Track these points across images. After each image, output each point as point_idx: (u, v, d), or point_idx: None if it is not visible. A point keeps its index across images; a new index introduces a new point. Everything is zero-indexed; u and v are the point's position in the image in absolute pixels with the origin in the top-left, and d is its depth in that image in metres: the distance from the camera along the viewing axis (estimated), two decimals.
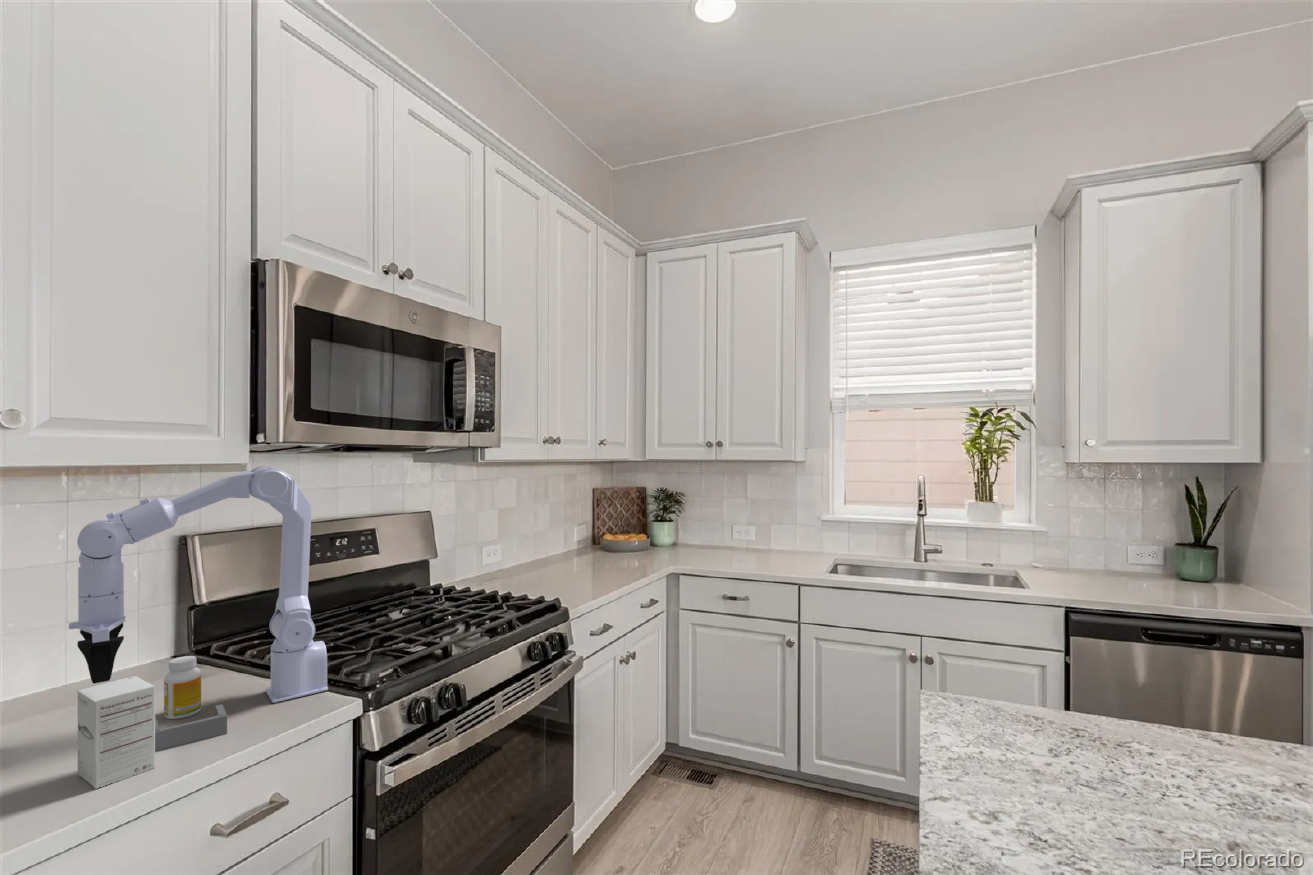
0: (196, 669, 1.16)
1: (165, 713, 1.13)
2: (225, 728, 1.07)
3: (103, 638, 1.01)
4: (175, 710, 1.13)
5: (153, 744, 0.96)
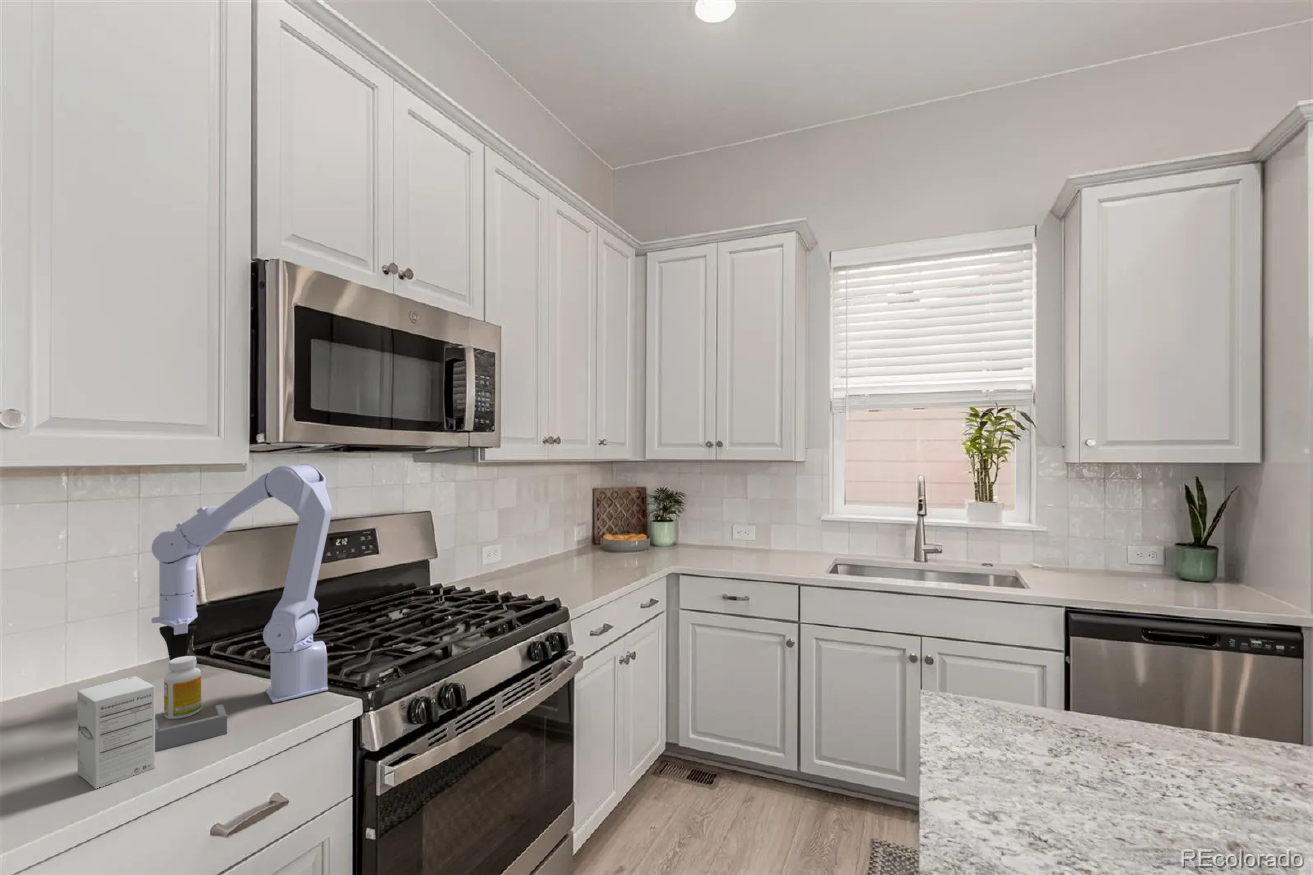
0: (196, 669, 1.16)
1: (165, 713, 1.13)
2: (225, 728, 1.07)
3: (183, 631, 1.18)
4: (175, 710, 1.13)
5: (153, 744, 0.96)
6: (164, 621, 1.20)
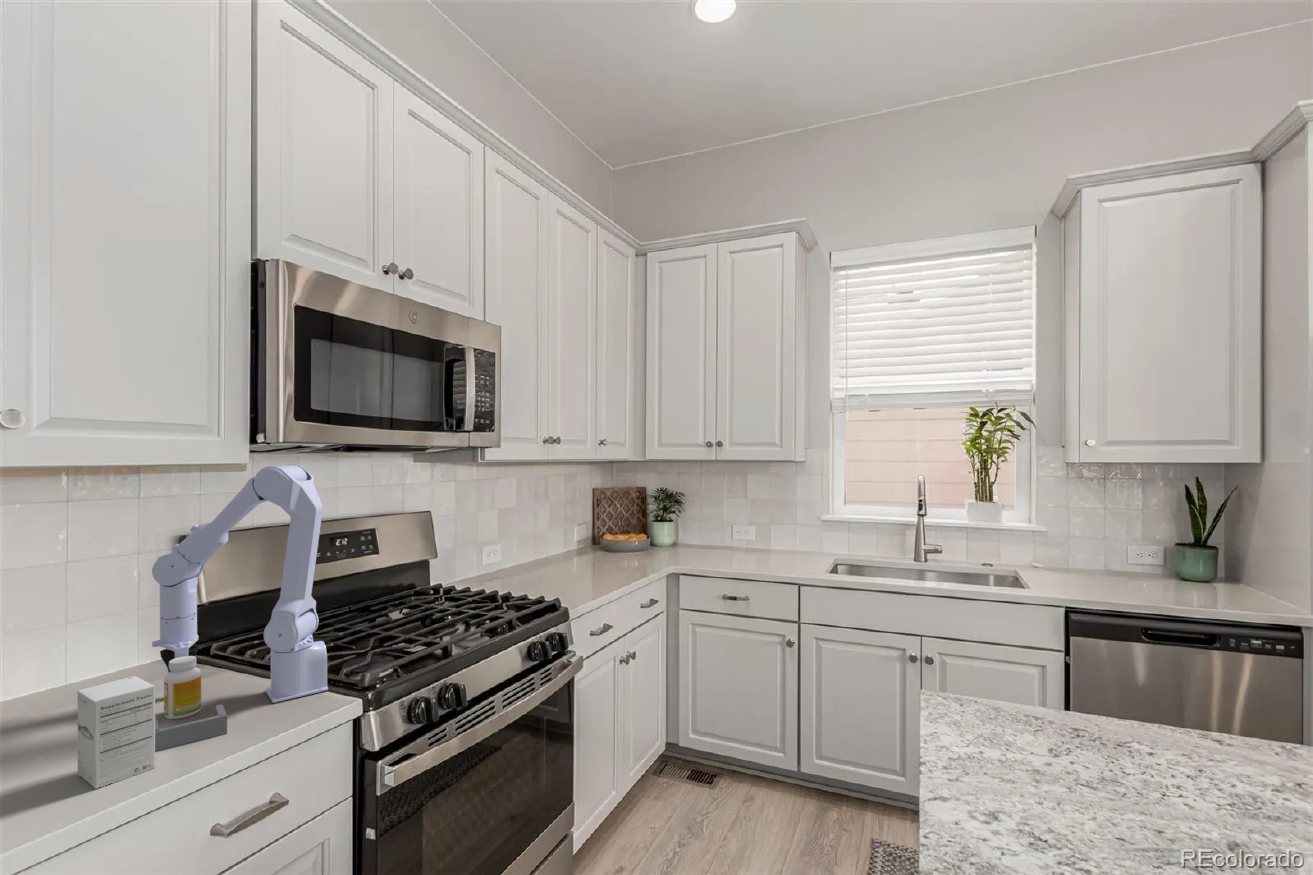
0: (196, 669, 1.16)
1: (165, 713, 1.13)
2: (225, 728, 1.07)
3: (183, 655, 1.17)
4: (175, 710, 1.13)
5: (153, 744, 0.96)
6: (165, 645, 1.19)
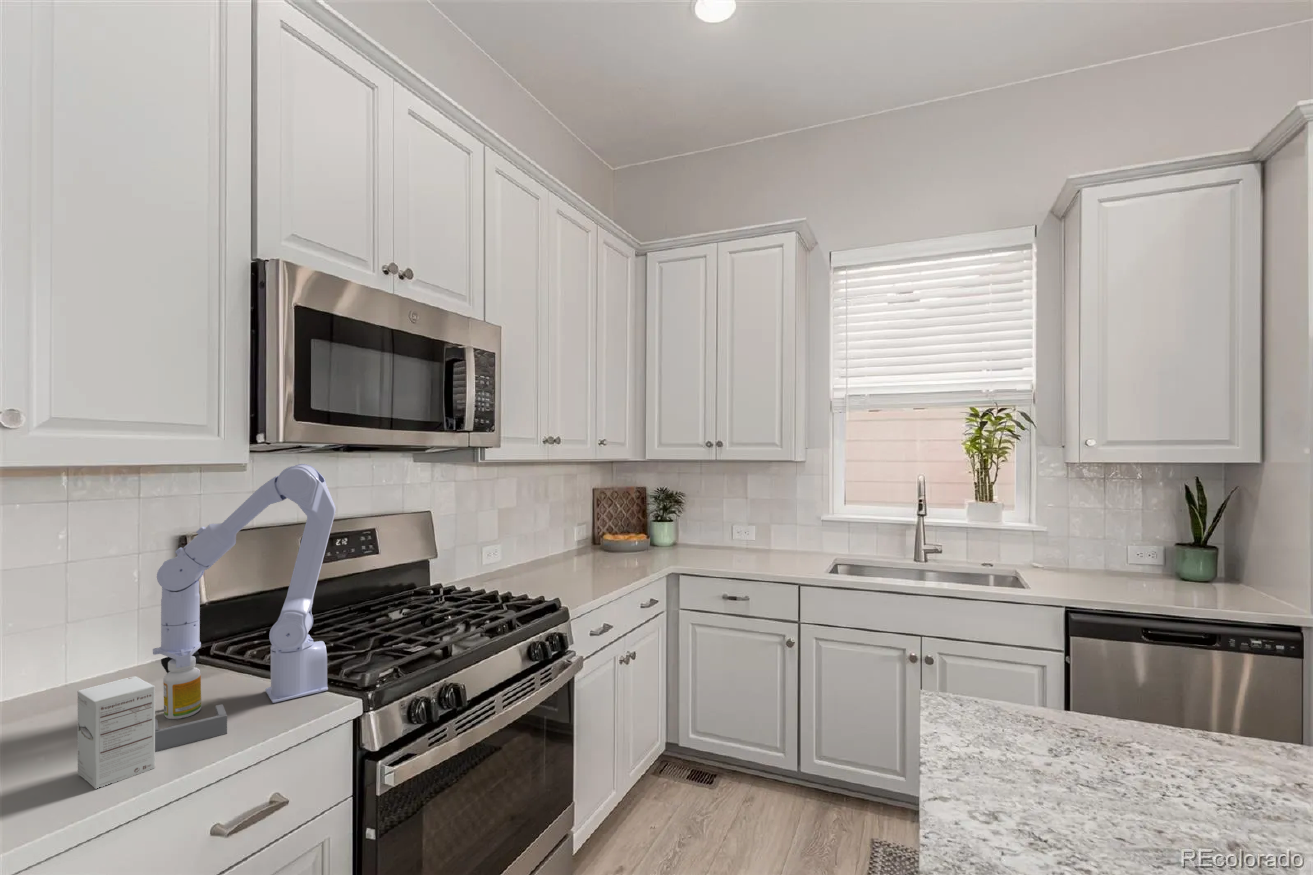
0: (195, 669, 1.16)
1: (165, 713, 1.13)
2: (225, 728, 1.07)
3: (185, 663, 1.13)
4: (175, 710, 1.12)
5: (153, 744, 0.96)
6: (166, 652, 1.14)
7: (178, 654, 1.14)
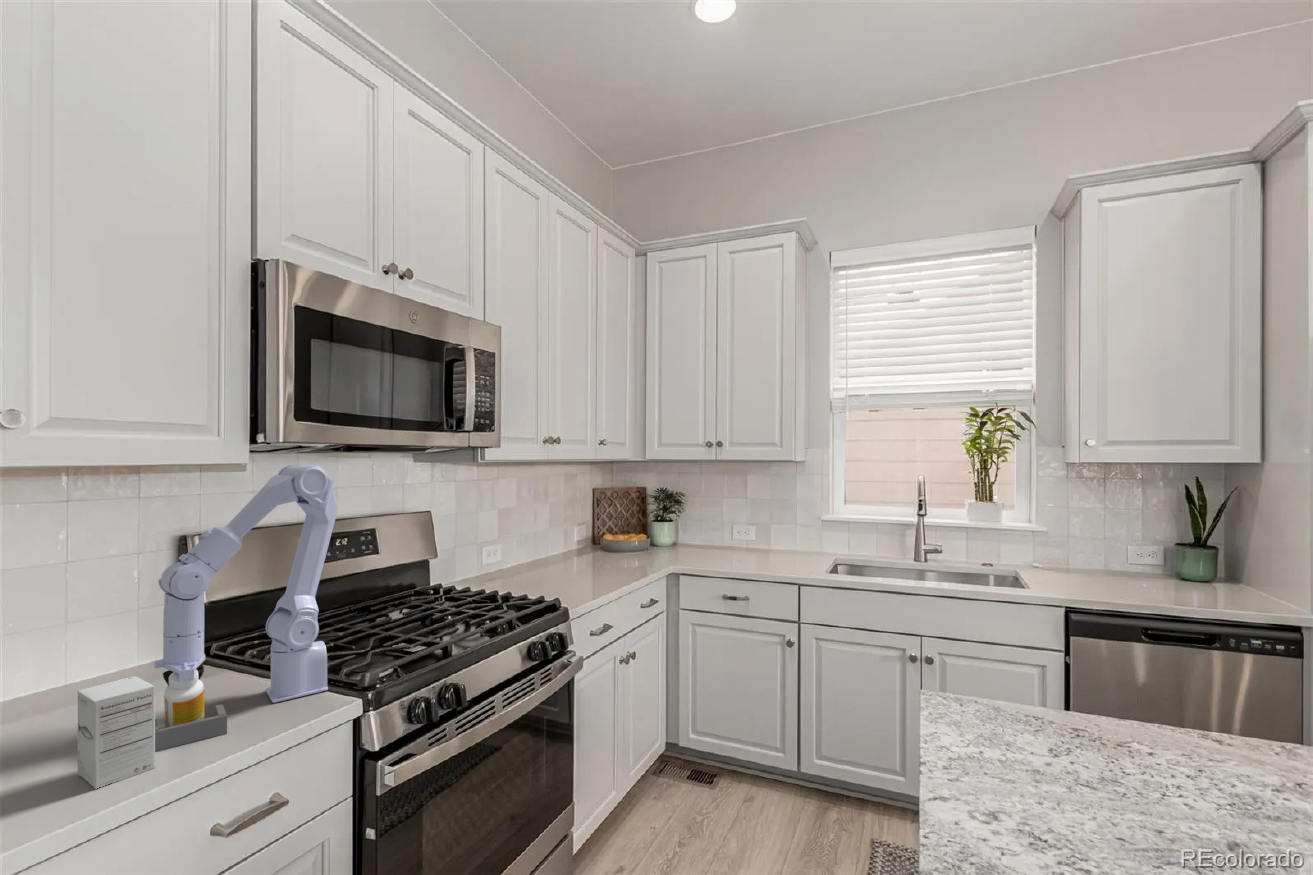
0: (198, 684, 1.08)
1: (166, 726, 1.07)
2: (225, 728, 1.07)
3: (189, 678, 1.06)
4: None
5: (153, 744, 0.96)
6: (168, 666, 1.07)
7: (181, 668, 1.07)
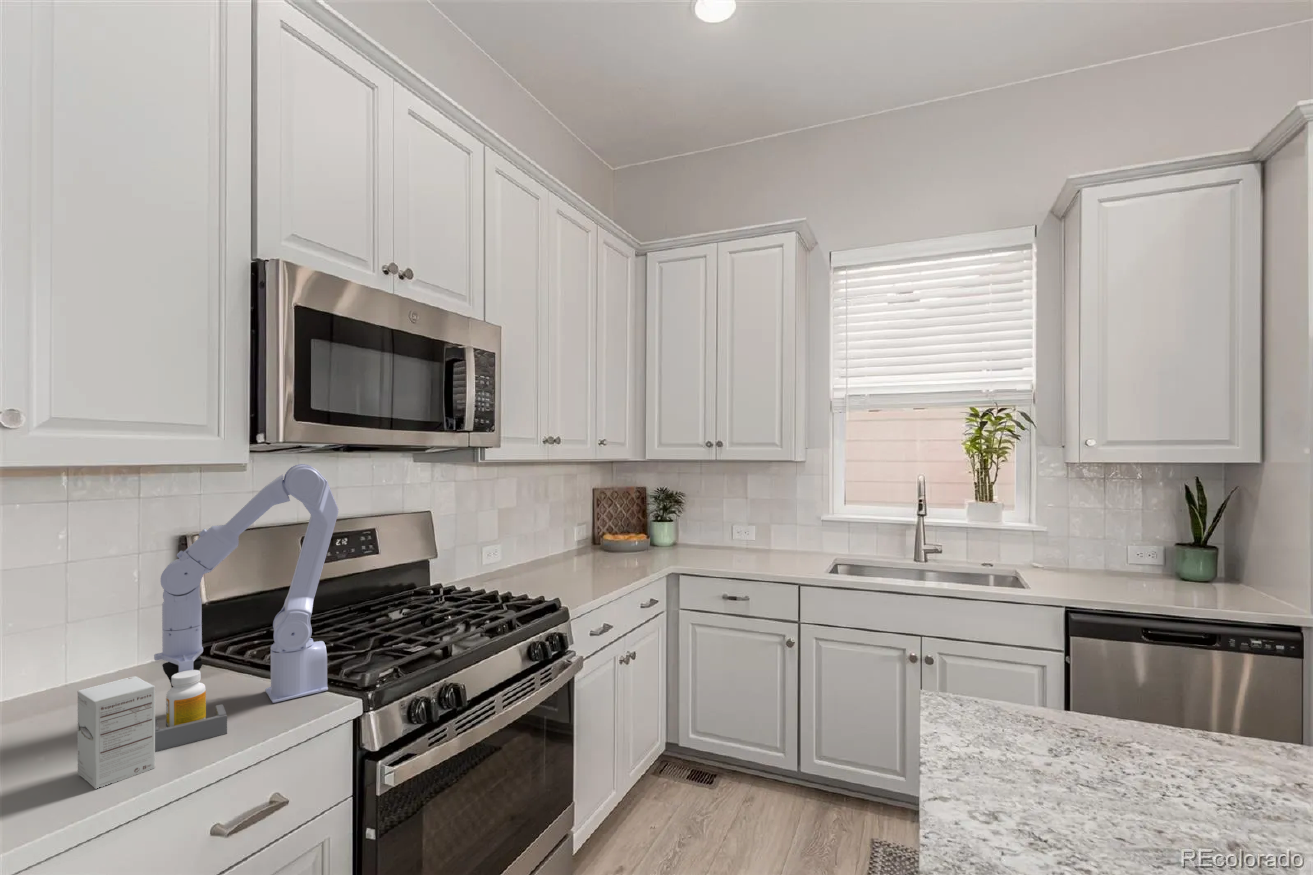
0: (200, 684, 1.09)
1: None
2: (225, 728, 1.07)
3: (188, 669, 1.10)
4: None
5: (153, 744, 0.96)
6: (168, 658, 1.12)
7: (180, 659, 1.12)
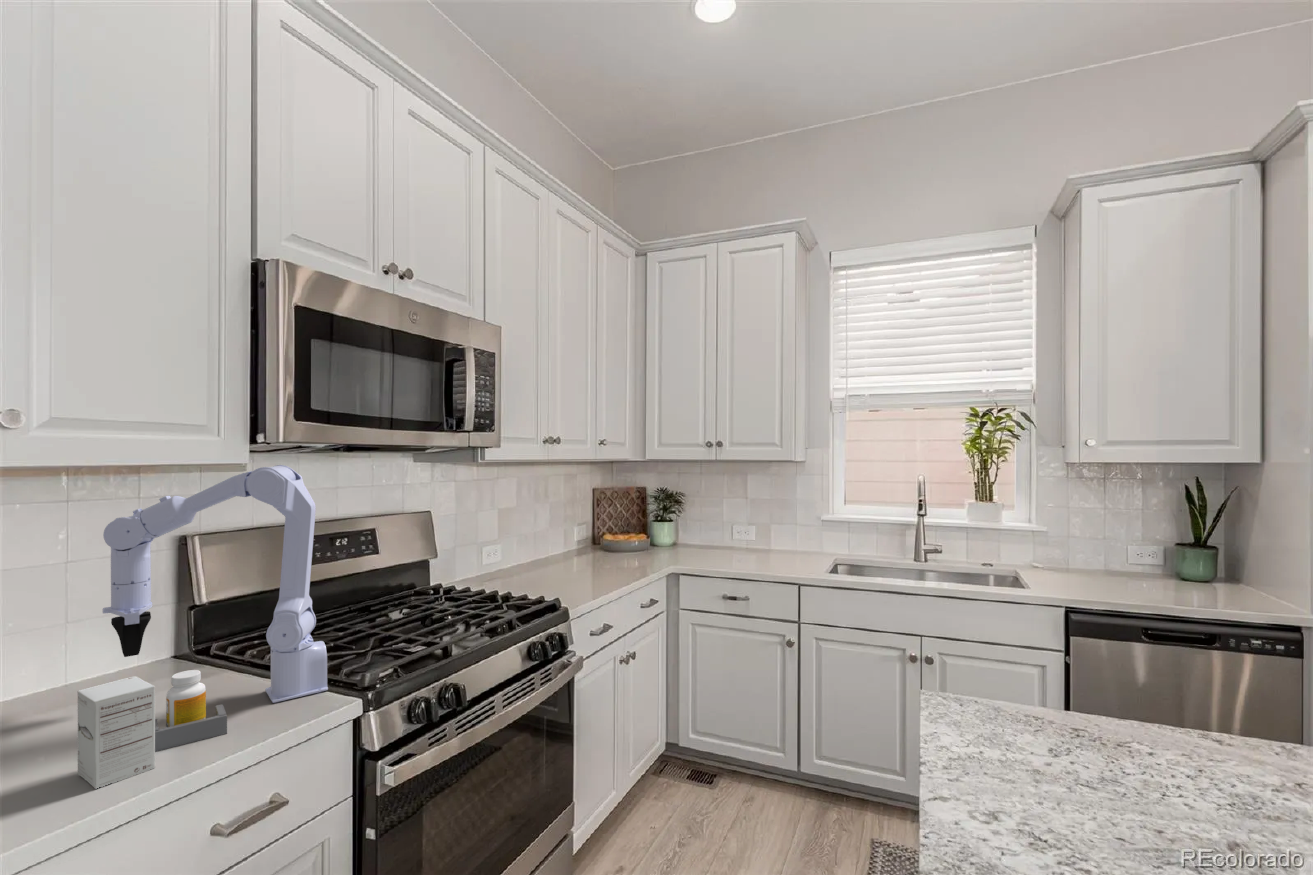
0: (200, 685, 1.09)
1: None
2: (225, 728, 1.07)
3: (134, 621, 1.13)
4: None
5: (153, 744, 0.96)
6: (115, 611, 1.15)
7: (127, 612, 1.14)
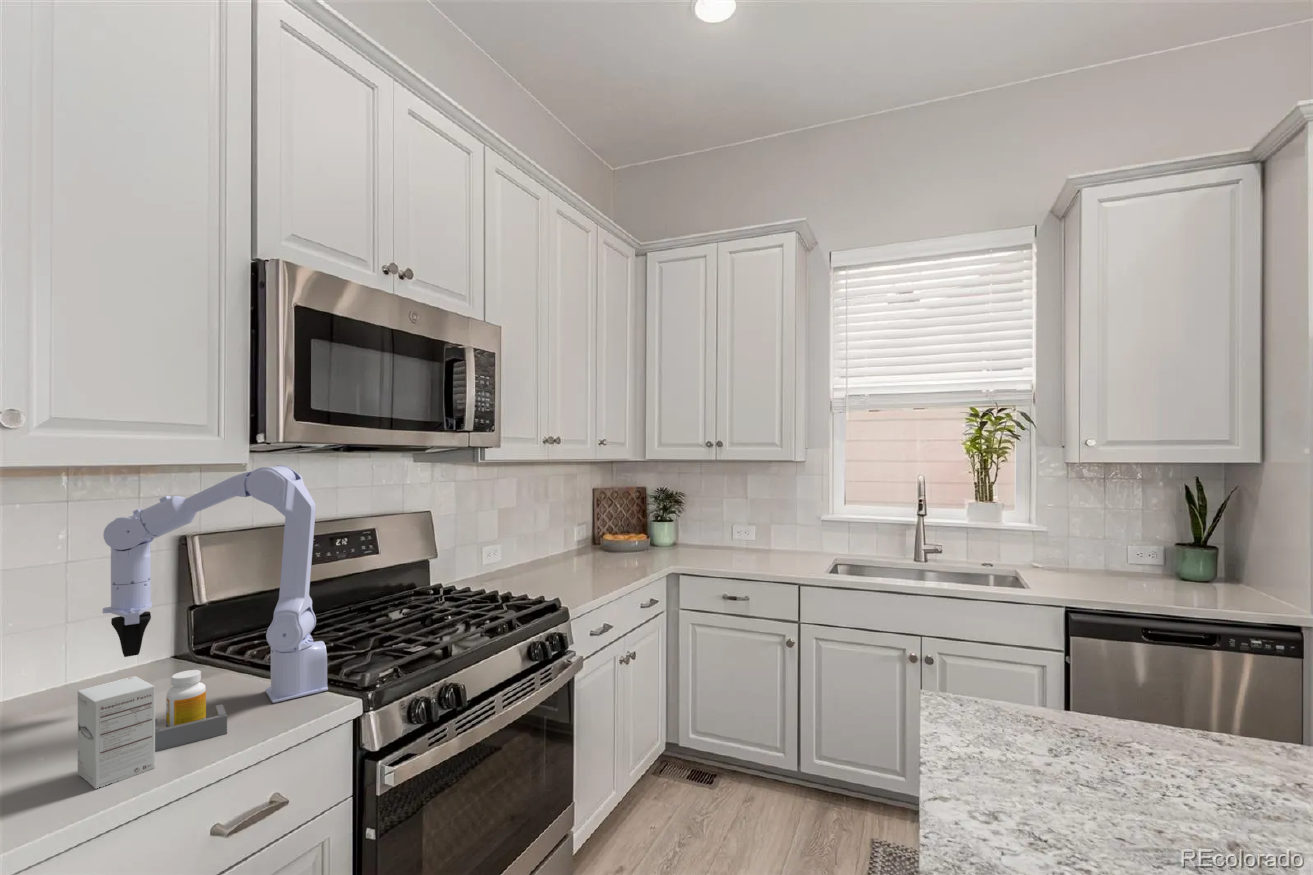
0: (200, 685, 1.09)
1: None
2: (225, 728, 1.07)
3: (134, 621, 1.13)
4: None
5: (153, 744, 0.96)
6: (115, 611, 1.15)
7: (127, 612, 1.14)
